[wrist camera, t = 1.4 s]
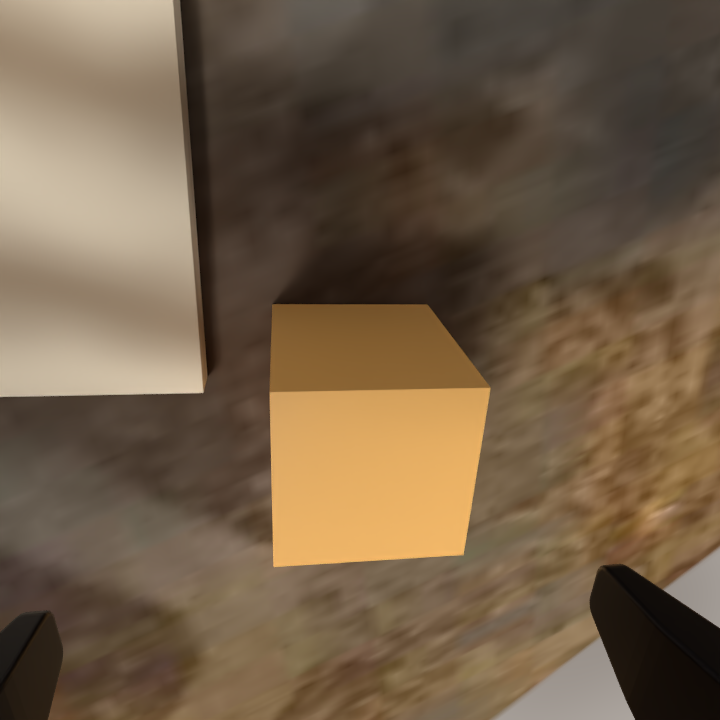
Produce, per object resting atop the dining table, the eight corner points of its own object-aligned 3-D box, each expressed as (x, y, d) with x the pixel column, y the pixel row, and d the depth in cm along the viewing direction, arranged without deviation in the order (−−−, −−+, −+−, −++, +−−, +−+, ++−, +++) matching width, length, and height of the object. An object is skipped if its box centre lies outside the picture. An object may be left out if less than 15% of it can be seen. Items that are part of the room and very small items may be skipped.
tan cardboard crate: (414, 435, 22) (463, 554, 16) (274, 440, 21) (273, 566, 15) (427, 304, 19) (490, 387, 14) (272, 304, 19) (269, 392, 13)
